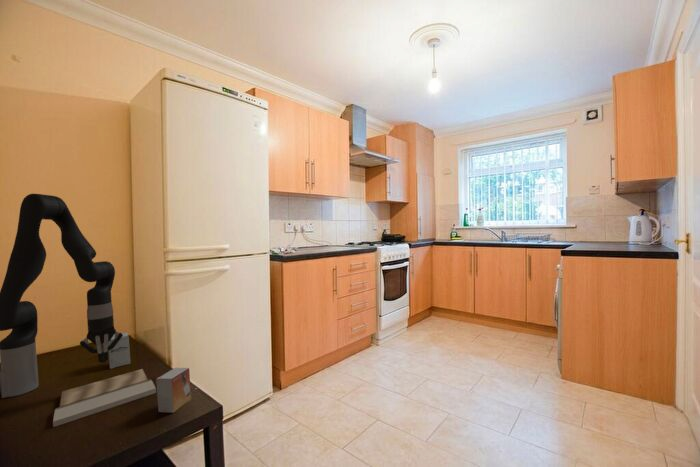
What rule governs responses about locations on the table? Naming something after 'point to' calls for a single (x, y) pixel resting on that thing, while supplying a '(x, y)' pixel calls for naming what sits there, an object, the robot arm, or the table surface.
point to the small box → (173, 390)
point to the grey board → (102, 402)
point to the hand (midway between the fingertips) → (103, 362)
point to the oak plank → (102, 387)
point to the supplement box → (119, 352)
